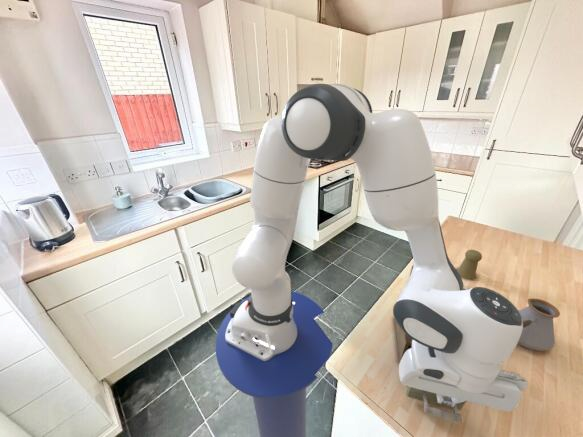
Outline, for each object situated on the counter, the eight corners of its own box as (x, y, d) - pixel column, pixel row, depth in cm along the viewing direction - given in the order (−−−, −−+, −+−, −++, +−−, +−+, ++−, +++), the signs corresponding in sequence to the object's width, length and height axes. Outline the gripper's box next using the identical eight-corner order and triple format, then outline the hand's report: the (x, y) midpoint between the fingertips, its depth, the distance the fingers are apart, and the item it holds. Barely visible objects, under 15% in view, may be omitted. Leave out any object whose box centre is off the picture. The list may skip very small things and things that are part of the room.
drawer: (467, 435, 52) (478, 420, 49) (410, 418, 55) (416, 403, 51) (444, 355, 67) (451, 340, 64) (400, 345, 70) (405, 330, 67)
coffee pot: (510, 315, 79) (531, 281, 72) (557, 343, 70) (585, 307, 63) (473, 345, 71) (492, 309, 63) (521, 382, 62) (550, 345, 54)
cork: (456, 267, 100) (464, 245, 95) (473, 271, 98) (483, 249, 93) (457, 276, 96) (466, 254, 90) (475, 281, 93) (486, 258, 88)
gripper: (521, 360, 45) (494, 399, 52) (404, 336, 50) (393, 374, 57) (542, 397, 40) (509, 434, 47) (409, 365, 45) (396, 403, 52)
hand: (444, 401), depth 52 cm, fingers closed
